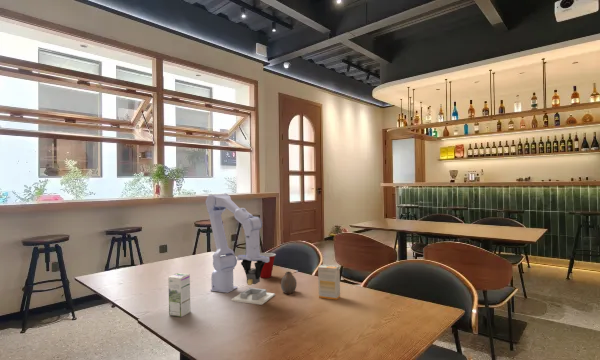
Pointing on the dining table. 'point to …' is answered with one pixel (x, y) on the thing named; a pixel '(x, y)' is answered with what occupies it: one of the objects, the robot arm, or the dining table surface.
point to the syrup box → (179, 294)
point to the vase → (288, 283)
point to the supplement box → (329, 281)
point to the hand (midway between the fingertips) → (253, 278)
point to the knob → (252, 277)
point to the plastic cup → (267, 265)
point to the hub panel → (254, 296)
